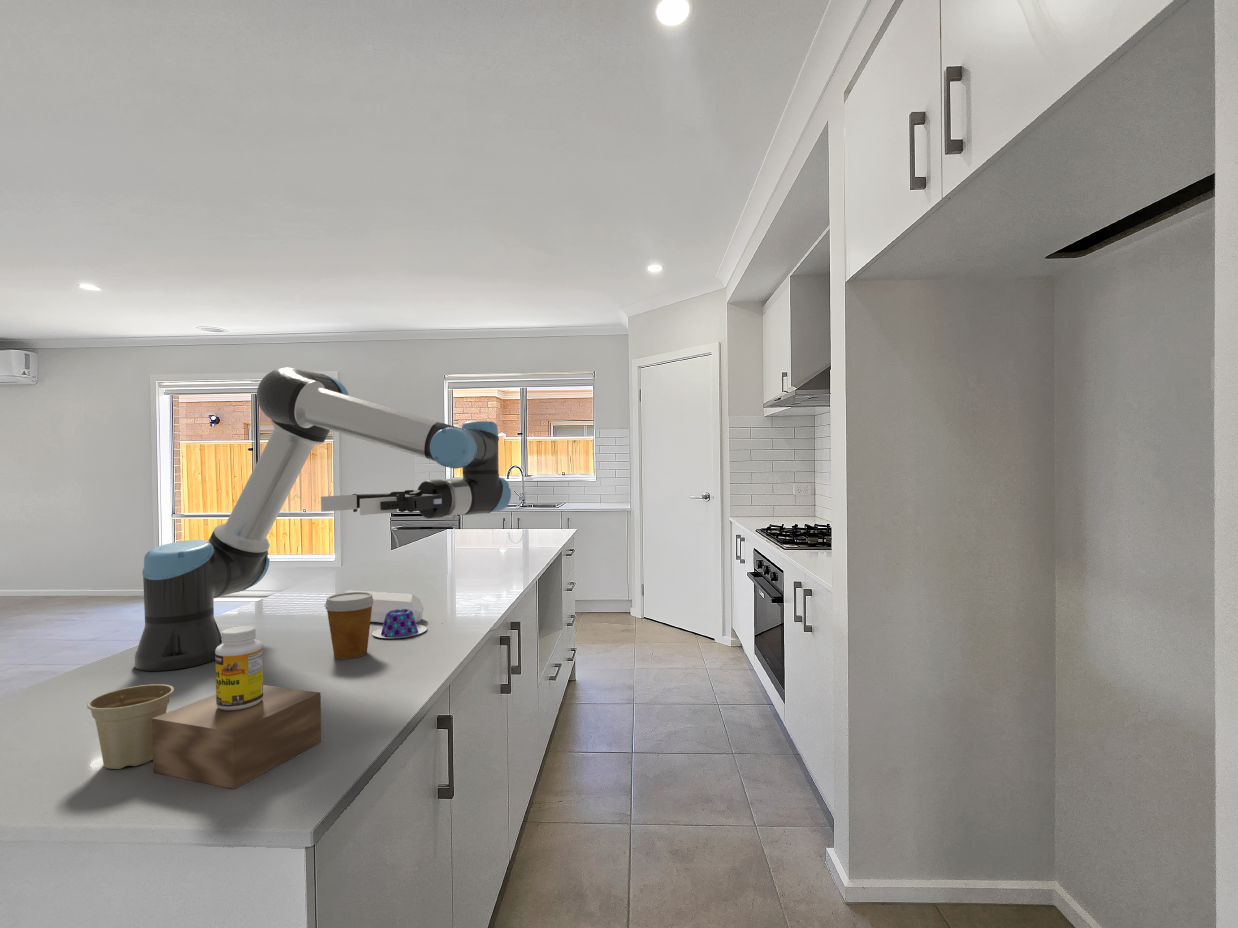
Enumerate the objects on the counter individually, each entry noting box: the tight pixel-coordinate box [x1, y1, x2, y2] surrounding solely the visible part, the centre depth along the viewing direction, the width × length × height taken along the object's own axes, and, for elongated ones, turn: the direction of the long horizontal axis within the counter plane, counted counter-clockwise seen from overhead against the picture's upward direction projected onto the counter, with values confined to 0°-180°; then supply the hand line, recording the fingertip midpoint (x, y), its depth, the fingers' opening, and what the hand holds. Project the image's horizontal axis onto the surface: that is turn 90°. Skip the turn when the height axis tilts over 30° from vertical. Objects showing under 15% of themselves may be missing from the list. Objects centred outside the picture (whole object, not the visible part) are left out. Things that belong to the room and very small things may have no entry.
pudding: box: [371, 609, 428, 639], centre depth 151 cm, size 12×12×5 cm
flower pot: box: [86, 683, 175, 770], centre depth 89 cm, size 9×9×9 cm
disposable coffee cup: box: [323, 592, 374, 660], centre depth 135 cm, size 10×10×12 cm
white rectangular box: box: [344, 589, 424, 624], centre depth 163 cm, size 7×7×24 cm
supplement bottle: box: [214, 625, 264, 711], centre depth 89 cm, size 6×6×10 cm
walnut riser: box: [152, 684, 323, 790], centre depth 89 cm, size 14×14×7 cm
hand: (340, 505), depth 115 cm, fingers open, 13 cm apart
